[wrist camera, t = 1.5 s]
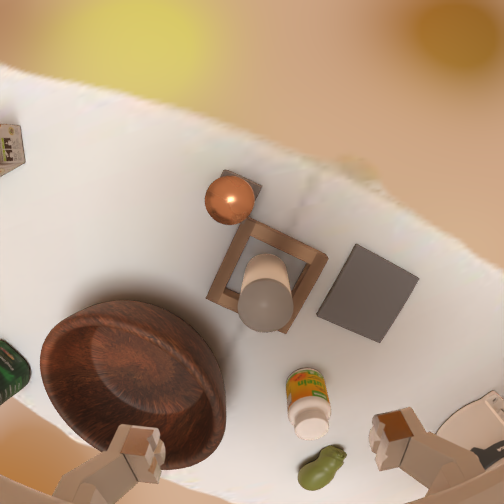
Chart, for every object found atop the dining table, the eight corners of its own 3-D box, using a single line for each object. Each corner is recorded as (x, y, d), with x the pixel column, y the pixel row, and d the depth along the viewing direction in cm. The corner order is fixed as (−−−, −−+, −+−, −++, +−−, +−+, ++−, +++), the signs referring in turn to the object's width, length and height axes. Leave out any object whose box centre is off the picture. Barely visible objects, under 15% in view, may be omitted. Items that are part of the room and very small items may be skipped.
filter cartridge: (294, 264, 38) (303, 296, 28) (275, 299, 39) (277, 340, 29) (256, 246, 38) (252, 272, 28) (238, 282, 39) (228, 319, 29)
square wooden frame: (340, 225, 37) (348, 231, 33) (285, 326, 40) (286, 342, 36) (228, 170, 36) (223, 169, 32) (180, 278, 39) (171, 290, 35)
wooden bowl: (231, 434, 45) (224, 483, 35) (90, 408, 46) (65, 446, 36) (237, 292, 39) (227, 332, 29) (63, 274, 40) (20, 300, 30)
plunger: (262, 186, 33) (262, 188, 28) (244, 224, 34) (241, 232, 29) (224, 168, 33) (217, 168, 28) (207, 206, 34) (197, 212, 29)
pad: (417, 277, 38) (419, 278, 37) (378, 340, 40) (379, 343, 39) (355, 243, 37) (357, 244, 36) (316, 314, 39) (317, 316, 39)
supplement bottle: (327, 367, 41) (339, 413, 32) (319, 397, 43) (329, 444, 33) (288, 365, 41) (292, 413, 32) (283, 395, 43) (285, 443, 33)
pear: (293, 491, 42) (333, 454, 41) (289, 471, 47) (325, 435, 46) (318, 498, 42) (357, 463, 41) (312, 479, 47) (348, 445, 47)
